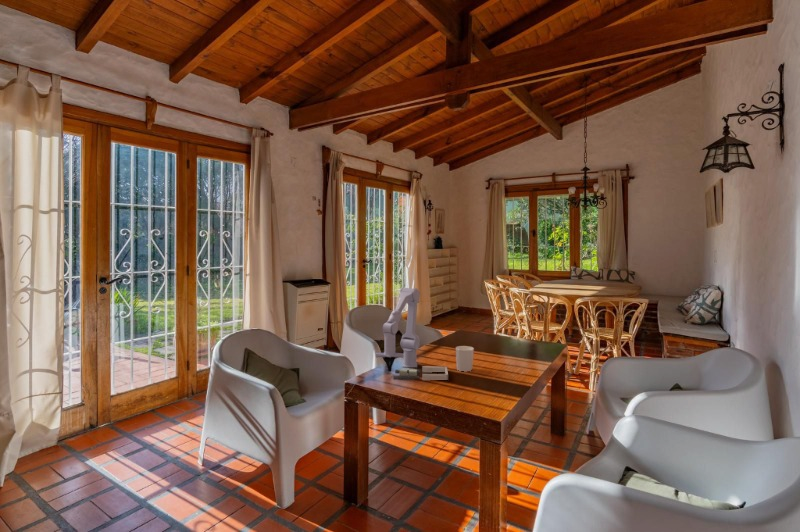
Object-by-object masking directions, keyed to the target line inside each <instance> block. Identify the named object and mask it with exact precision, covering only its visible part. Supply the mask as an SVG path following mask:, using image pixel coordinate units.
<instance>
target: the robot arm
mask: <svg viewBox="0 0 800 532" xmlns="http://www.w3.org/2000/svg"><path fill="white" fill-rule="evenodd" d="M420 295H421V294H420V291H419V289H418V288H411V287H409V288H408V287H401V288H400V290H399V292H398V297H399V299H398V302H397V304H396V307H395V309H394V310H392V311H391V312H390V315H389V317H388V319H387V321H386V322H385V323H383V325H382V328H381V330H382V333H383V334H382V335H383V337H384V339H383V340H384V351H383V352H376V353H375V358H384V362H385V364H386V366H387V370H388V372H392V369H393V364H394V361H395V360H396V359H395V358H400V359H403V361H402V362H403V363H402V368H418V361H417V351H418V350H419V349H420V346H421V345H420V344H421V342H420V336H419V335H418V334H417V333H416V329H417V327H416V326H417V314H418V313H417V312H418V304H419V303H420ZM406 305H407V315H406V317H407V318H406V327H405V333H403V334H402V335H401V339H400V344H399V345H400V347H401V349H402V350H403V353H401V352H396V334H397V332H398V330H399V323H400V320H401V318H402V316H403V315H402V312H403V311H404V308H405V306H406Z"/></svg>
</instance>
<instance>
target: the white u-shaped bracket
mask: <svg viewBox="0 0 800 532" xmlns="http://www.w3.org/2000/svg"><path fill="white" fill-rule="evenodd" d="M421 367H422V368H421V369H422V372H421V373H422V375H421V376H422V381H430V380H448V381H449V373H448V367H447V366H434V365H433V366H429V365H428V366H423V365H422V366H421ZM432 372H445V373H438V374H437V373H432Z"/></svg>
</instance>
